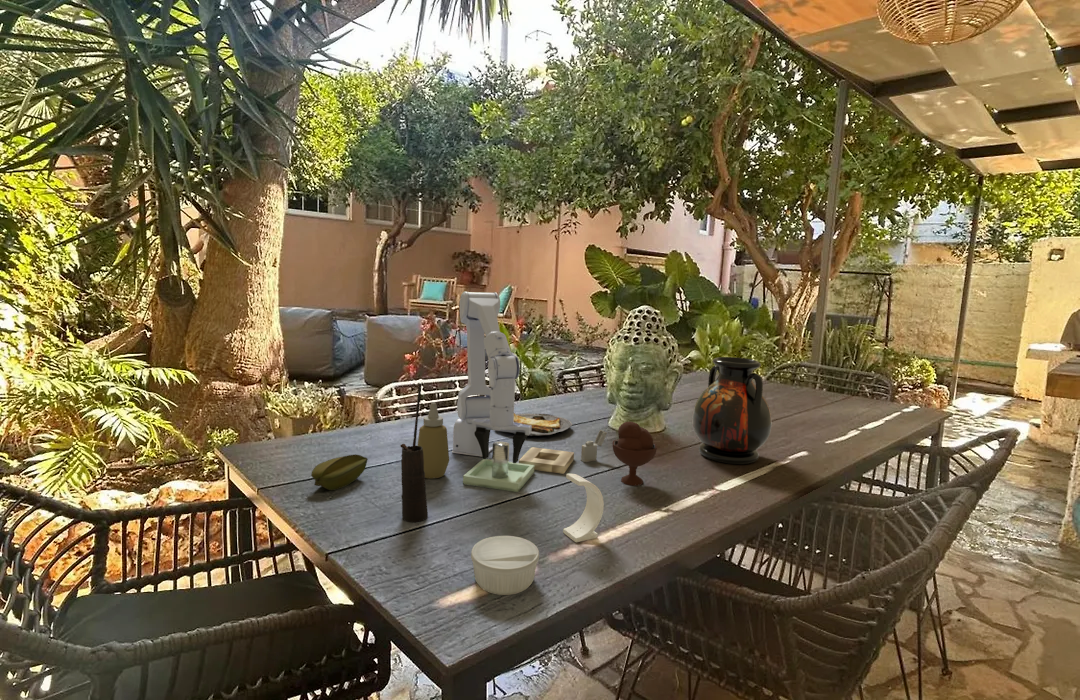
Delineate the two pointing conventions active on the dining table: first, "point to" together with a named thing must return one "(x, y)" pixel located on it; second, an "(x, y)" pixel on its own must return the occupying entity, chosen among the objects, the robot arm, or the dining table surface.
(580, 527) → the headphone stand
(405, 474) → the butter churn
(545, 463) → the socket block
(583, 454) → the lighter
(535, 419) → the food plate
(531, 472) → the tray
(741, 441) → the amphora vase
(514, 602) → the dining table surface
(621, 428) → the ice cream bowl
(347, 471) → the fruit
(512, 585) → the ramekin
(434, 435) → the squeeze bottle
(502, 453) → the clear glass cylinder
